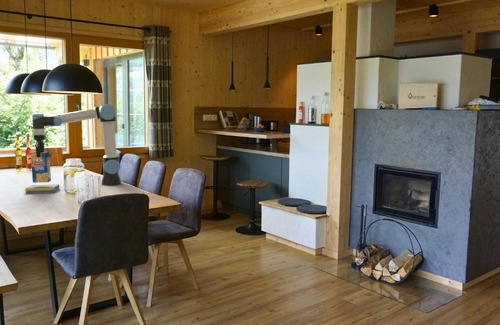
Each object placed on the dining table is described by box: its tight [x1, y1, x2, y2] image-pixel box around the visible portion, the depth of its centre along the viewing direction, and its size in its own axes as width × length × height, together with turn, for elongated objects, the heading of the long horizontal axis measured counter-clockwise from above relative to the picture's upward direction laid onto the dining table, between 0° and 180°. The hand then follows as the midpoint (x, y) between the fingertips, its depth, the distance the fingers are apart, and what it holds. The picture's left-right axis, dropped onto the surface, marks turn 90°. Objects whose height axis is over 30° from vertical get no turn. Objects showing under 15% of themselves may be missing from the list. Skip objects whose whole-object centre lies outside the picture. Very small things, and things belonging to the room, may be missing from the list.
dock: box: [24, 183, 60, 195], centre depth 333 cm, size 20×14×4 cm
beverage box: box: [30, 151, 52, 184], centre depth 331 cm, size 7×11×22 cm, turn 96°
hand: (41, 166), depth 331 cm, fingers closed on beverage box, 2 cm apart
